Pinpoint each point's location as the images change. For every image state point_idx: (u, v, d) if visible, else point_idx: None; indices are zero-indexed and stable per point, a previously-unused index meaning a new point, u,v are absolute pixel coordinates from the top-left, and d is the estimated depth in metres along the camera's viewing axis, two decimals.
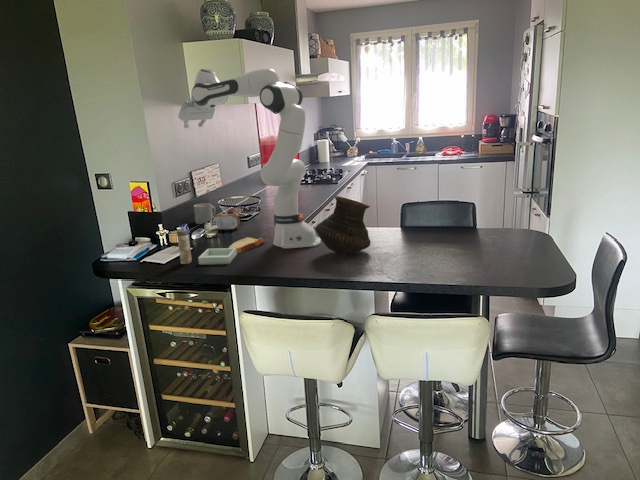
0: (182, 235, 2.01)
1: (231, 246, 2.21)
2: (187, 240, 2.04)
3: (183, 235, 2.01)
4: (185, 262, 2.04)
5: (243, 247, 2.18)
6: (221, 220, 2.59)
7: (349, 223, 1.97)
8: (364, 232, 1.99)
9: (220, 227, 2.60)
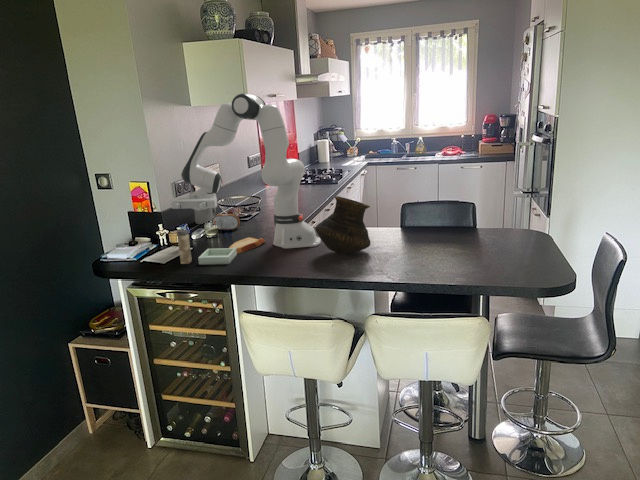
0: (182, 235, 2.01)
1: (231, 246, 2.21)
2: (187, 240, 2.04)
3: (183, 235, 2.01)
4: (185, 262, 2.04)
5: (243, 247, 2.18)
6: (221, 220, 2.59)
7: (349, 223, 1.97)
8: (364, 232, 1.99)
9: (220, 227, 2.60)
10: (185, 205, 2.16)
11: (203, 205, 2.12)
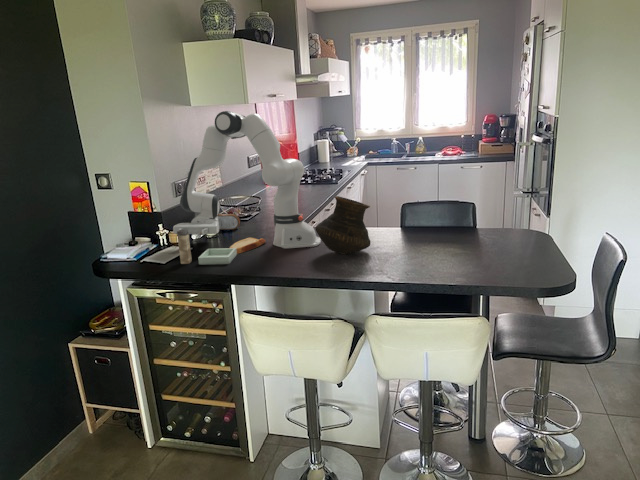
0: (182, 235, 2.01)
1: (232, 246, 2.21)
2: (187, 240, 2.04)
3: (183, 235, 2.01)
4: (185, 262, 2.04)
5: (244, 247, 2.18)
6: (221, 220, 2.59)
7: (349, 223, 1.97)
8: (364, 232, 1.99)
9: (220, 227, 2.60)
10: None
11: (205, 231, 2.15)
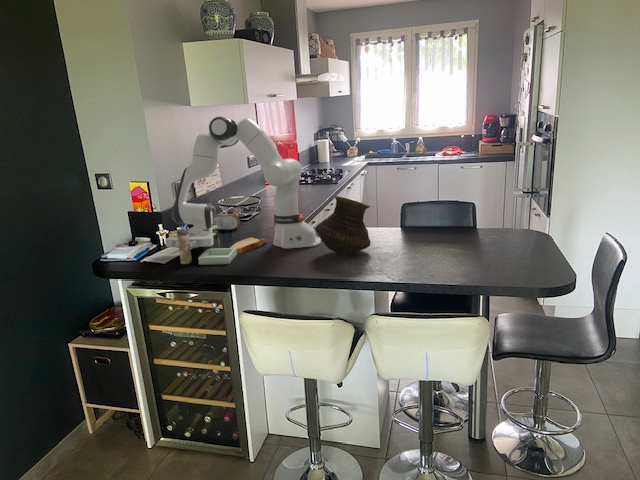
0: (182, 235, 2.01)
1: (232, 246, 2.21)
2: (187, 240, 2.04)
3: (183, 235, 2.01)
4: (185, 262, 2.04)
5: (244, 247, 2.17)
6: (221, 220, 2.59)
7: (349, 223, 1.97)
8: (364, 232, 1.99)
9: (220, 227, 2.60)
10: None
11: (193, 244, 2.05)
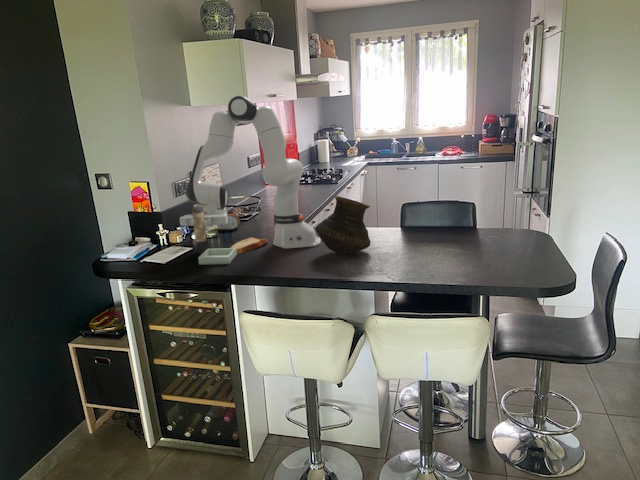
0: (197, 212, 2.00)
1: (233, 246, 2.21)
2: (202, 218, 2.02)
3: (198, 212, 2.00)
4: (200, 240, 2.03)
5: (244, 247, 2.17)
6: None
7: (349, 223, 1.97)
8: (364, 232, 1.99)
9: (220, 227, 2.60)
10: None
11: (208, 222, 2.04)
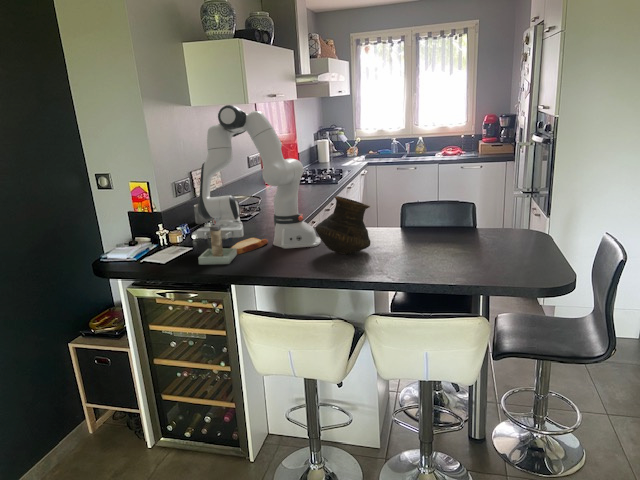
0: (215, 230, 2.03)
1: (233, 246, 2.21)
2: (220, 236, 2.06)
3: (216, 230, 2.03)
4: None
5: (245, 248, 2.17)
6: None
7: (349, 223, 1.97)
8: (364, 232, 1.99)
9: None
10: None
11: (229, 235, 2.07)
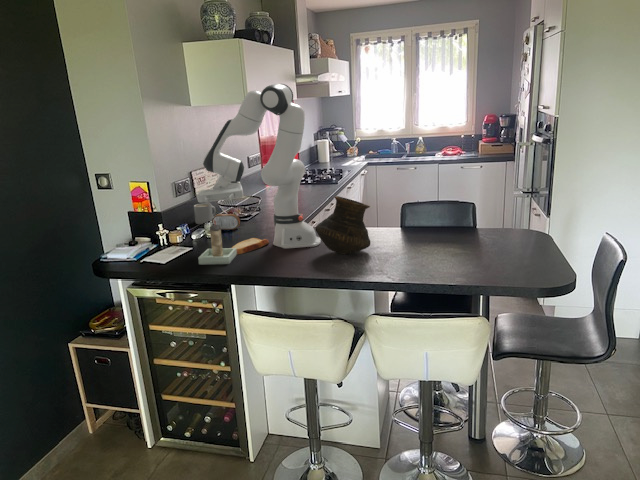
0: (215, 230, 2.03)
1: (234, 247, 2.20)
2: (220, 236, 2.06)
3: (216, 230, 2.03)
4: None
5: (245, 248, 2.17)
6: (221, 220, 2.59)
7: (349, 223, 1.97)
8: (364, 232, 1.99)
9: (220, 227, 2.60)
10: (212, 198, 2.12)
11: (232, 197, 2.09)
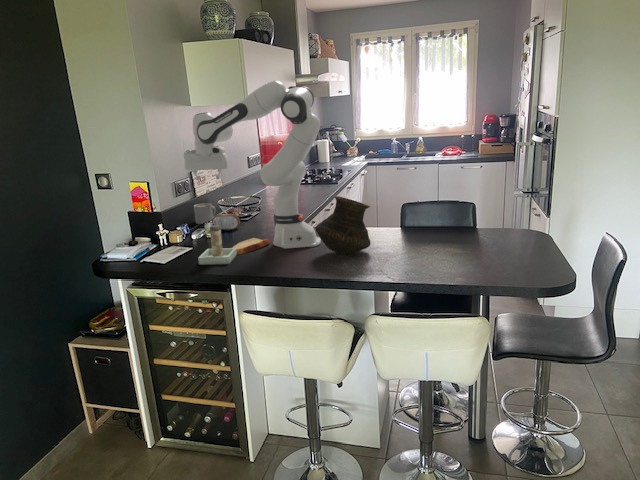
0: (215, 230, 2.03)
1: (234, 247, 2.20)
2: (220, 236, 2.06)
3: (216, 230, 2.03)
4: None
5: (246, 248, 2.16)
6: (221, 220, 2.59)
7: (349, 223, 1.97)
8: (364, 232, 1.99)
9: (220, 227, 2.60)
10: None
11: (220, 173, 2.24)
